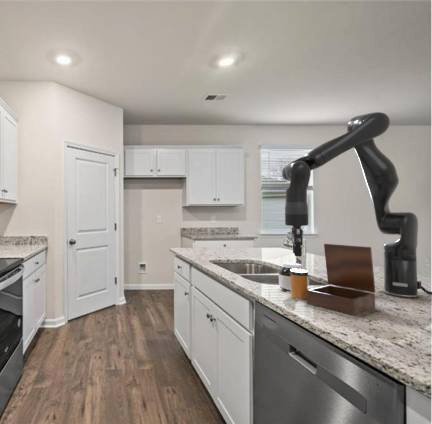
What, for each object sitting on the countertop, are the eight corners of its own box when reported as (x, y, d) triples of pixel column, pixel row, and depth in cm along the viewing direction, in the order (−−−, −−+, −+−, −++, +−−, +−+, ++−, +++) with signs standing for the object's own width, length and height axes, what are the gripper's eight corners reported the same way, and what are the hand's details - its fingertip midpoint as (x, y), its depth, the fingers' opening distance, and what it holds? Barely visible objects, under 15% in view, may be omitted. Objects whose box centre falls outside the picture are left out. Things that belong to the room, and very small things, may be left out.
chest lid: (370, 247, 92) (371, 247, 93) (323, 244, 105) (325, 243, 105) (374, 292, 93) (375, 291, 94) (328, 283, 105) (329, 283, 106)
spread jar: (280, 292, 116) (280, 264, 117) (276, 286, 127) (275, 260, 127) (315, 295, 112) (314, 266, 112) (307, 288, 122) (306, 262, 123)
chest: (353, 318, 87) (353, 300, 87) (307, 306, 99) (306, 289, 99) (375, 310, 93) (374, 293, 93) (328, 300, 106) (328, 284, 106)
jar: (295, 296, 111) (295, 268, 111) (311, 299, 106) (311, 271, 106) (287, 298, 109) (286, 270, 109) (302, 302, 103) (302, 272, 104)
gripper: (310, 213, 100) (311, 258, 100) (306, 213, 113) (306, 253, 112) (285, 213, 104) (286, 256, 104) (284, 213, 116) (285, 252, 116)
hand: (297, 254), depth 108 cm, fingers open, 8 cm apart
